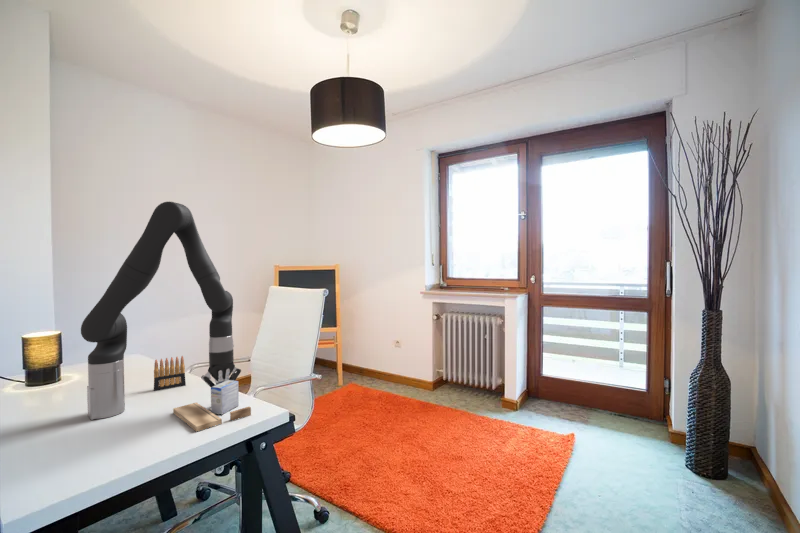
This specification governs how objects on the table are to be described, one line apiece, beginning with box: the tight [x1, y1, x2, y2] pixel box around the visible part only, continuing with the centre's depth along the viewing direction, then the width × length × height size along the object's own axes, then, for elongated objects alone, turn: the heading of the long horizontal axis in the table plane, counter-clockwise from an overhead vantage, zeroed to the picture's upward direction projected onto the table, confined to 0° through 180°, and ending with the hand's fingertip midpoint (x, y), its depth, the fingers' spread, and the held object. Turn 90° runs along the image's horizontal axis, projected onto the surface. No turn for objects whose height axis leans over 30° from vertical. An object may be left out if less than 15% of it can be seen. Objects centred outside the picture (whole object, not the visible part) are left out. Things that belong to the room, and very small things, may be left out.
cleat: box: [229, 406, 252, 421], centre depth 117 cm, size 6×1×2 cm, turn 137°
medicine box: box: [210, 380, 240, 415], centre depth 123 cm, size 8×4×9 cm, turn 164°
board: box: [172, 402, 223, 433], centre depth 117 cm, size 7×21×2 cm, turn 47°
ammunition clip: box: [153, 355, 187, 392], centre depth 148 cm, size 11×2×12 cm, turn 127°
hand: (222, 399), depth 127 cm, fingers closed
